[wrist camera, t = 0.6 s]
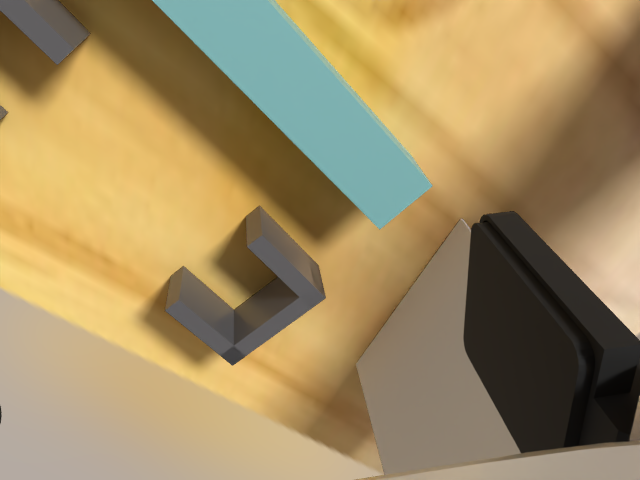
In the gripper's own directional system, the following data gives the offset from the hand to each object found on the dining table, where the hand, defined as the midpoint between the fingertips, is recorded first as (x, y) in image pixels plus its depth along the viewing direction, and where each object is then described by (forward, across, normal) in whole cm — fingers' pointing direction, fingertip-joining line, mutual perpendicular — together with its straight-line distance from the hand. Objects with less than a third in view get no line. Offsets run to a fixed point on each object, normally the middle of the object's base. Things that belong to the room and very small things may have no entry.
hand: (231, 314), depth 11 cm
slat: (+27, -3, +1) cm, 27 cm away
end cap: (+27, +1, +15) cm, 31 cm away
